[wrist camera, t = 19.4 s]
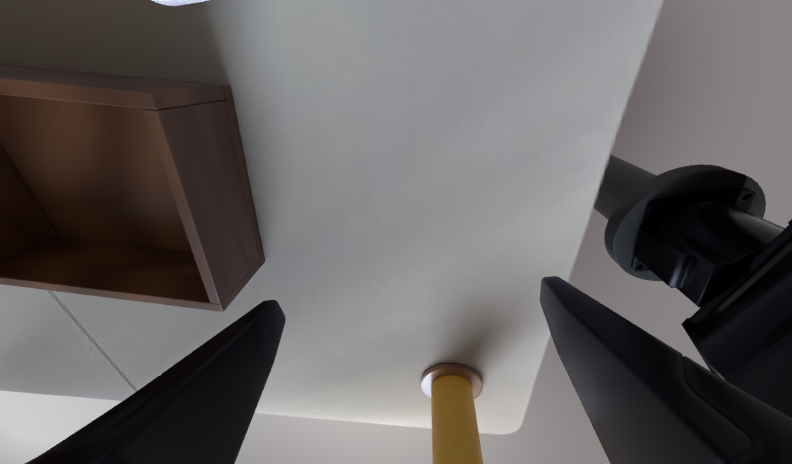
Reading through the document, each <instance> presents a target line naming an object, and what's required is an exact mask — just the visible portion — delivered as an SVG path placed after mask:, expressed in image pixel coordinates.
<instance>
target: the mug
mask: <svg viewBox="0 0 792 464" xmlns="http://www.w3.org/2000/svg"><path fill="white" fill-rule="evenodd" d="M152 1H154V2H157V3H160V4H163V5H168V6H180V5H186V4H192V3H198V2H204V1H210V0H152Z"/></svg>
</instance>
